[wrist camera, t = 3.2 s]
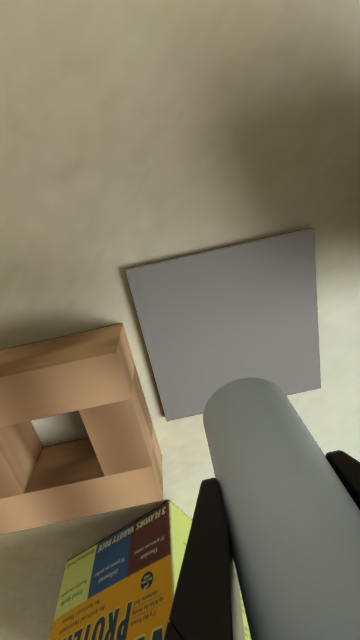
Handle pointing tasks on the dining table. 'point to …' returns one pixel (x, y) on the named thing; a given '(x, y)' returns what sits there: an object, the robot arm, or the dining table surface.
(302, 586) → the peg
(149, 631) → the protein box
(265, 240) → the mat
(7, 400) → the hole block
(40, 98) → the dining table surface
